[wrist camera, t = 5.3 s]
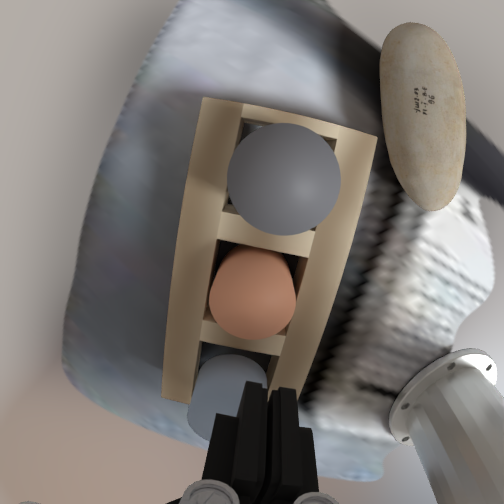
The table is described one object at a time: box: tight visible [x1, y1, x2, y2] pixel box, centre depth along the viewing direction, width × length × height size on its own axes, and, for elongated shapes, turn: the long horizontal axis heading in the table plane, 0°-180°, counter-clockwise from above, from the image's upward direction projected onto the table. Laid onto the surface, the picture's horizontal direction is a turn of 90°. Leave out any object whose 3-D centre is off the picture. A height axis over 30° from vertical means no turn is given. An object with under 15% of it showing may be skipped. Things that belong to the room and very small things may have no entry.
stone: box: [380, 22, 466, 211], centre depth 16 cm, size 6×6×12 cm
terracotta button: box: [209, 244, 296, 340], centre depth 20 cm, size 5×5×4 cm
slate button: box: [187, 354, 267, 441], centre depth 19 cm, size 5×5×4 cm
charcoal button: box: [227, 123, 341, 236], centre depth 15 cm, size 5×5×4 cm
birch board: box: [161, 97, 378, 404], centre depth 21 cm, size 10×21×3 cm, turn 168°
